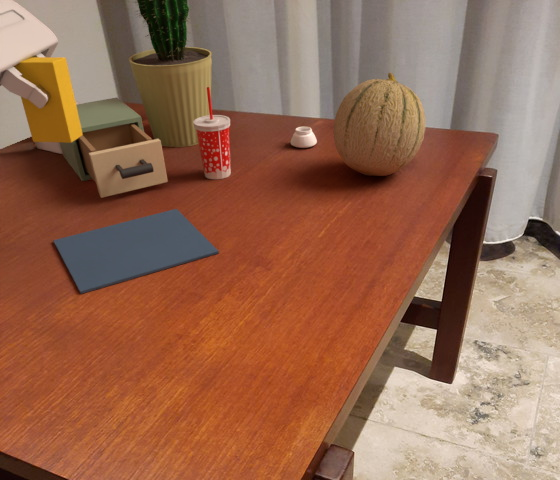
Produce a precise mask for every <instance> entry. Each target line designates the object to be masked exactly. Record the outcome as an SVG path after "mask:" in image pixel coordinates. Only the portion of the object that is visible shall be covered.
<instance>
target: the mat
mask: <svg viewBox="0 0 560 480" xmlns="http://www.w3.org/2000/svg"><path fill="white" fill-rule="evenodd" d="M53 243H54V246H55V248H56V249H57V251H58V253H59V255H60V257H61V259H62V261H63V263H64V265H65V267H66V268H67V270H68V272H69V274H70V276H71V279H72V280H73V282H74V284H75V286H76V288H77V290H78V291H79V293H80V294H81V295H82V294H86V293H90V292H93V291H96V290H101V289H103V288H107V287H110V286H113V285H116V284H121V283H124V282H126V281H131V280H133V279H138V278H141V277H143V276H146V275H150V274H154V273H158V272H161V271H164V270H167V269H171V268H175V267H177V266H181V265H184V264H187V263H192V262H195V261H198V260H201V259H204V258H209V257H211V256H215V255H218V254H220V251H219V250H218V249H217V247H215V246H214V245H213V244H212V243H211V242H210V240H208V239H207V237H206V236H204V235H203V233H202V232H200V230H198V228H197V227H196V226H195V225H194V224H193V223H192V222H191V221H189V219H187V218H186V217H185V215H183V213H182V212H181V211H180V210H179V209H177V208H174V209H170V210H166V211H162V212H158V213H154V214H150V215H147V216H142V217H139V218H135V219H130V220H127V221H122V222H119V223H115V224H111V225H108V226H103V227H100V228H95V229H92V230H88V231H84V232H80V233H77V234H72V235H69V236H64V237H61V238H57V239H53Z"/></svg>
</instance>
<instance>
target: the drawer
mask: <svg viewBox="0 0 560 480" xmlns="http://www.w3.org/2000/svg"><path fill="white" fill-rule="evenodd" d="M82 134H83V135H82V136H81V137H79V138H78V139H77V143H78V147H79V150H80V154H81V158H82V161H83V164H84V169H85V170H86V171H87V172H88V174H89V175H90V176H91V177H92V179H91V180H93V182H94V183H95V184H96V187H97V192H98V195H99V196H100V198H107V197H110V196H115V195H118V194H119V195H120V194H123V193H127V192H131V191H136V190H140V189H144V188H148V187H153V186H156V185H157V186H158V185H161V184H165V183H168V182H169V180H168V174H167V169H166V163H165V158H164V151H163V146H162V145H161V141H160V140H159V139H154V138H153V139H152V138H151V137H150V136H149V135H148V134H147V133H146V132H145V131H144V132H143V131H142V130H141V129H140V128H138V127H137V126H136V125H135V124H134V123H130V124H125V125H120V126H115V127H110V128H105V129H99V130H94V131H89V132H84V133H82Z"/></svg>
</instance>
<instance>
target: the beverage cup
mask: <svg viewBox="0 0 560 480" xmlns="http://www.w3.org/2000/svg"><path fill="white" fill-rule="evenodd" d="M207 96H208V105H209V113H210V115H208V116H203V117H199V118H197V119H195V120H194V121H193V123H194V128H195V129H196V132H197V137H198V142H199V144H198V146H199V153H200V157H201V163H202V168H203V174H204V177H205V178H207V179H208V180H209V179H210V180H223V179H226V178H229V177H230V176H231V174H232V172H231V171H232V169H231V168H232V167H231V142H230V141H231V139H230V126H231V119H230V117H229V116H227V115H222V114H214V113H213V107H212V95H211V96H210V87H207Z"/></svg>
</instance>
